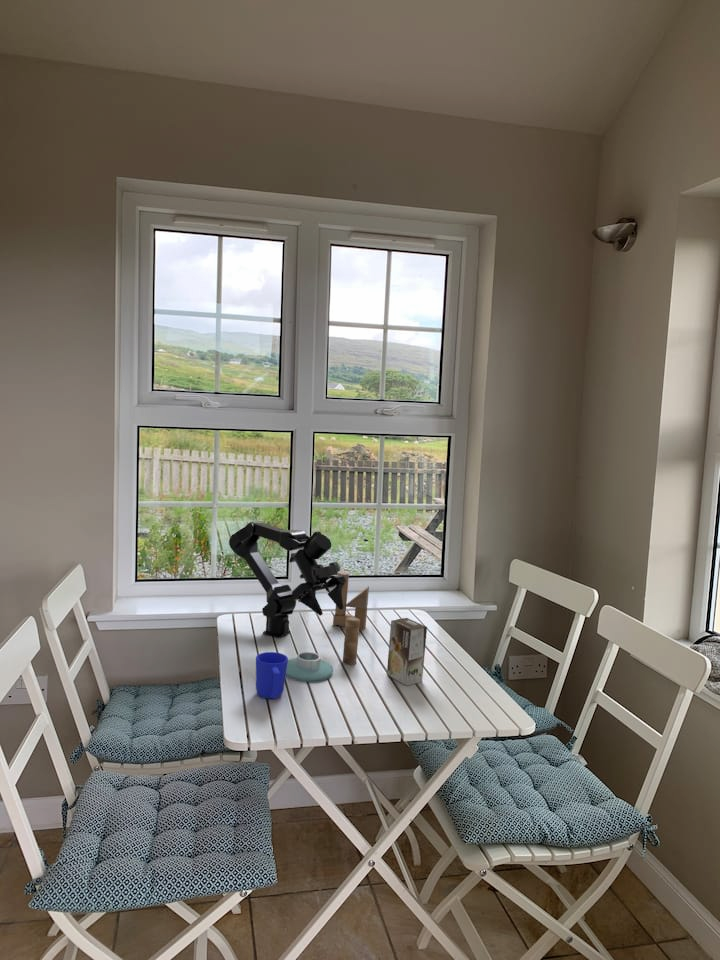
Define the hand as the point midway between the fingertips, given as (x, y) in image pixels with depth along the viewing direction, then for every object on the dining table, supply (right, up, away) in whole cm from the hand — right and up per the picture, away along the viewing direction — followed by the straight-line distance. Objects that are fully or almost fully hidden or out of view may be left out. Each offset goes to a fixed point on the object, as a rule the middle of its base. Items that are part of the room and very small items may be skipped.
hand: (332, 612), depth 223 cm
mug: (-15, -17, -32) cm, 39 cm away
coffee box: (+21, -17, -12) cm, 29 cm away
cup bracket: (-6, -15, -13) cm, 20 cm away
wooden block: (+5, -10, +29) cm, 31 cm away
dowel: (+5, -14, -3) cm, 15 cm away
